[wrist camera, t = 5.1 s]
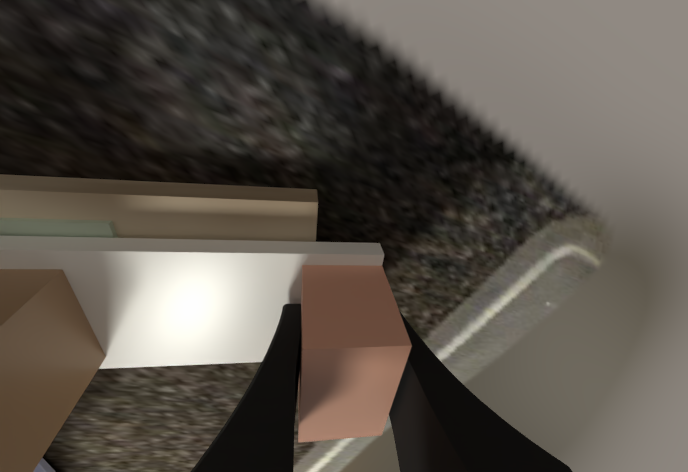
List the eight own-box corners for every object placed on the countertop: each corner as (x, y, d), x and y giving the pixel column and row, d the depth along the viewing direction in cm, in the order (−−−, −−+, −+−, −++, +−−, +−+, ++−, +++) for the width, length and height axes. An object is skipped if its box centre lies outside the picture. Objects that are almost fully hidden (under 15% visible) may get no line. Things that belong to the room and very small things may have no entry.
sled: (359, 343, 15) (385, 470, 10) (-48, 357, 12) (-252, 537, 8) (379, 243, 12) (428, 362, 7) (-164, 232, 9) (-624, 413, 4)
